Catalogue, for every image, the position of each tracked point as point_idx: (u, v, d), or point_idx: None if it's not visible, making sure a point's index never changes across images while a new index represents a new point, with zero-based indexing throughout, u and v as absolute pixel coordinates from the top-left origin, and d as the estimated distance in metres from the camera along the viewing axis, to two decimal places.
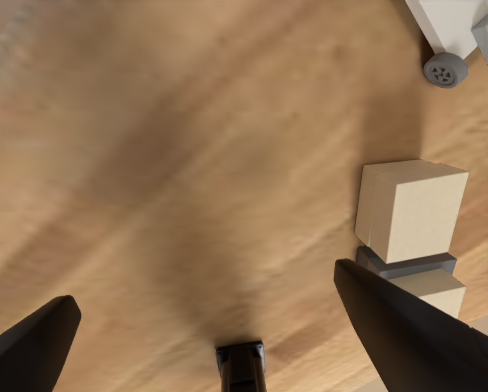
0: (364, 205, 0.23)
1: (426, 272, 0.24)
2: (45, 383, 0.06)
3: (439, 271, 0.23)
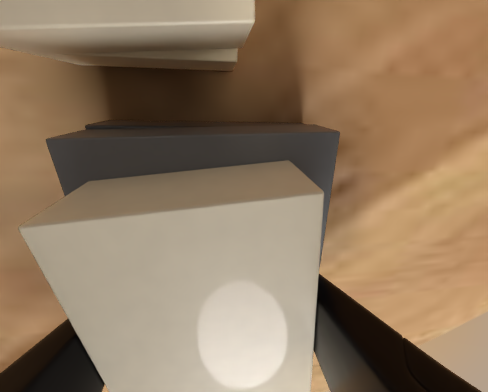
0: None
1: (231, 167, 0.07)
2: (99, 374, 0.06)
3: (272, 165, 0.07)
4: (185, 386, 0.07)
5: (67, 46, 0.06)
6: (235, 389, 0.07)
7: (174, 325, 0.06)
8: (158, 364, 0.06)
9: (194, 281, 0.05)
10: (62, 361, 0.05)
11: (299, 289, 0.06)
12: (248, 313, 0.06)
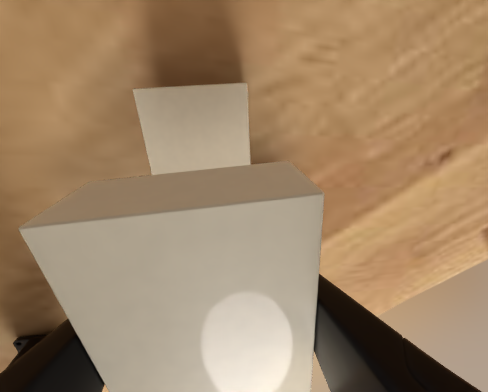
0: None
1: (231, 167, 0.07)
2: (99, 374, 0.06)
3: (272, 165, 0.07)
4: (185, 386, 0.07)
5: None
6: (235, 389, 0.07)
7: (175, 325, 0.06)
8: (159, 364, 0.06)
9: (195, 282, 0.05)
10: (62, 361, 0.05)
11: (299, 290, 0.06)
12: (248, 313, 0.06)
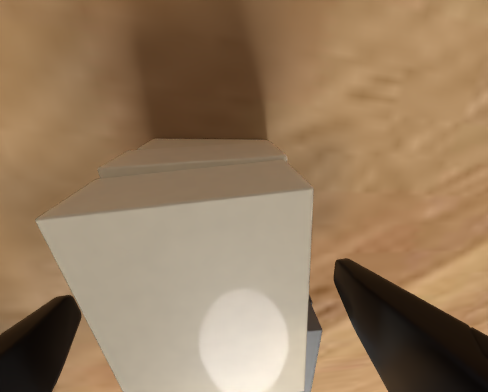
0: None
1: (229, 166, 0.07)
2: (45, 383, 0.06)
3: (268, 164, 0.07)
4: (186, 371, 0.07)
5: None
6: (232, 375, 0.07)
7: (176, 312, 0.06)
8: (161, 349, 0.07)
9: (195, 270, 0.06)
10: None
11: (292, 279, 0.06)
12: (245, 301, 0.06)
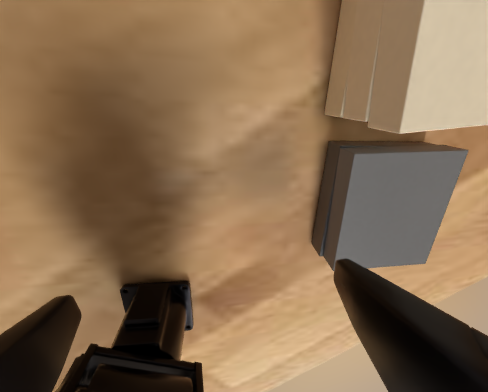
0: (340, 50, 0.15)
1: None
2: (45, 383, 0.06)
3: None
4: (455, 77, 0.10)
5: None
6: (480, 89, 0.10)
7: (479, 3, 0.09)
8: (452, 47, 0.10)
9: None
10: None
11: None
12: None
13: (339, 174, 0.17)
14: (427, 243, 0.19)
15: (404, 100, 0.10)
